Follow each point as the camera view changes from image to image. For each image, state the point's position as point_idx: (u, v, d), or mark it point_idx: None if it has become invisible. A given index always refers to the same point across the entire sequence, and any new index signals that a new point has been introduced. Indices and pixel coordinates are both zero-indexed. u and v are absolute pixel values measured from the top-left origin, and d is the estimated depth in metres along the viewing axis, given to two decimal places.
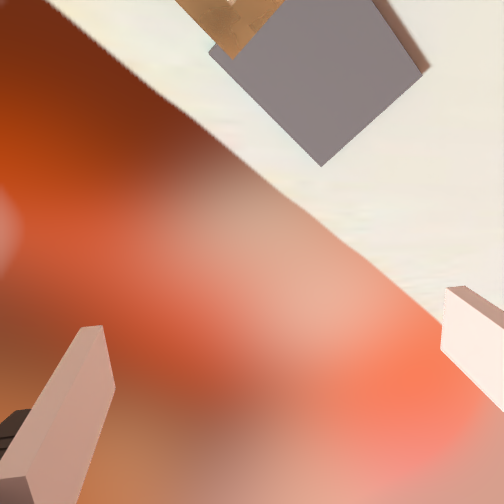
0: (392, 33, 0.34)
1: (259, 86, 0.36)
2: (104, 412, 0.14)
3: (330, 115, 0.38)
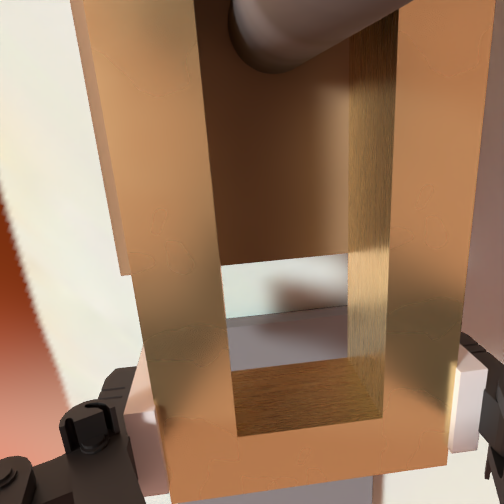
0: None
1: None
2: None
3: (243, 497, 0.25)
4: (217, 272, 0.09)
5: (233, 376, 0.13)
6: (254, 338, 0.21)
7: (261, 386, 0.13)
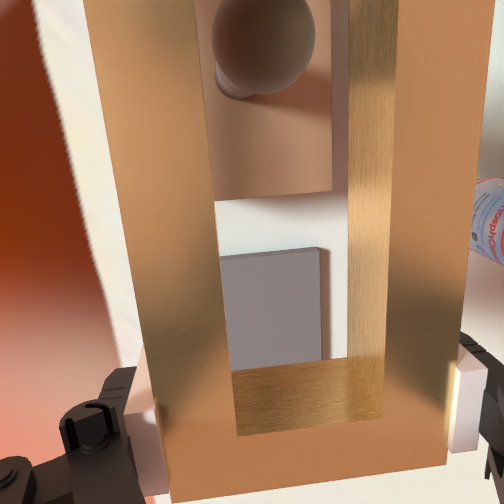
0: None
1: None
2: None
3: None
4: (216, 271, 0.09)
5: (233, 376, 0.13)
6: (236, 268, 0.32)
7: (261, 386, 0.13)
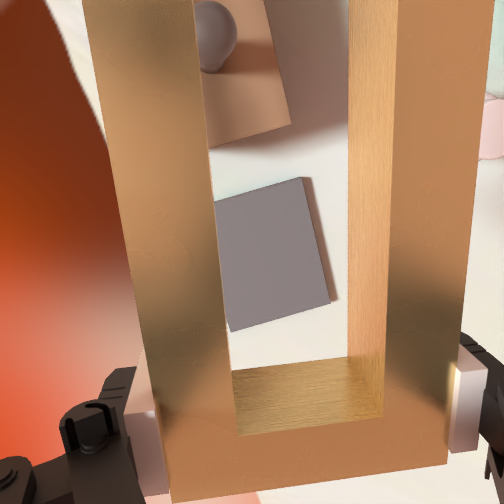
0: (320, 265, 0.46)
1: None
2: None
3: (255, 297, 0.46)
4: (216, 271, 0.09)
5: (233, 375, 0.13)
6: (241, 203, 0.42)
7: (261, 385, 0.13)
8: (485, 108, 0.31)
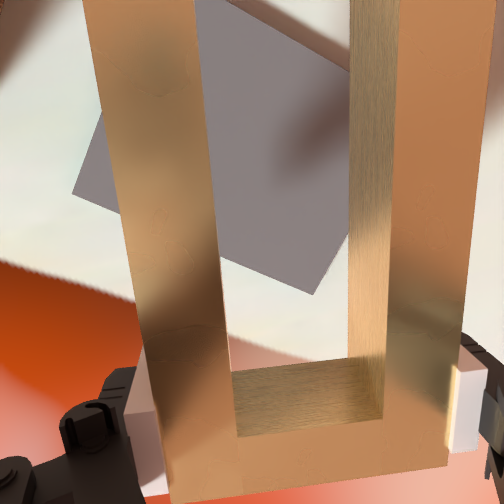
0: (339, 68, 0.21)
1: None
2: None
3: (294, 216, 0.24)
4: (217, 272, 0.09)
5: (233, 376, 0.13)
6: None
7: (261, 386, 0.13)
8: None
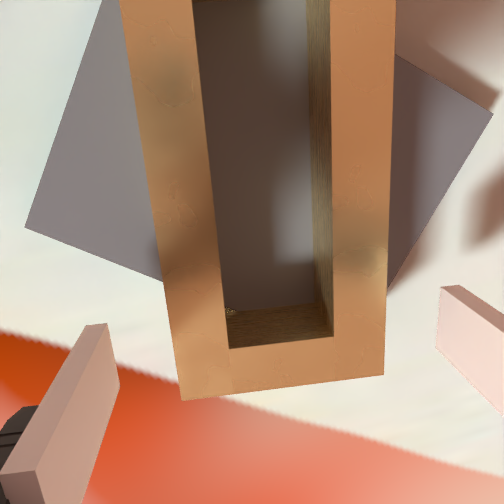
0: None
1: (153, 251, 0.17)
2: (109, 409, 0.14)
3: None
4: (212, 225, 0.14)
5: (227, 315, 0.18)
6: (90, 106, 0.15)
7: (247, 321, 0.17)
8: None
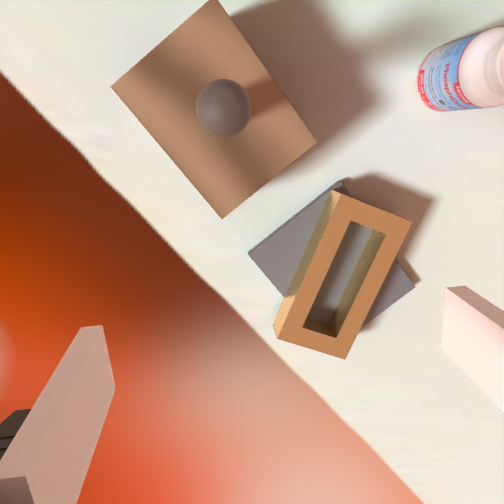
0: None
1: (284, 282, 0.44)
2: (104, 412, 0.14)
3: None
4: (319, 286, 0.41)
5: None
6: (293, 228, 0.42)
7: (305, 321, 0.44)
8: None
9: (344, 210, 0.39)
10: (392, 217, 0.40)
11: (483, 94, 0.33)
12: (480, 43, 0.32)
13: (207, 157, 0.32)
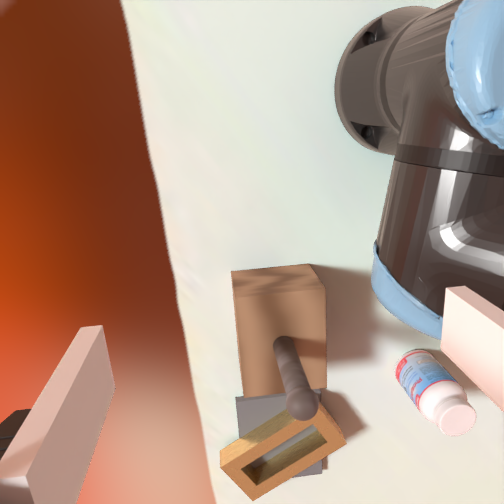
0: None
1: (246, 429, 0.58)
2: (104, 412, 0.14)
3: None
4: (268, 450, 0.56)
5: None
6: (274, 401, 0.57)
7: None
8: (453, 408, 0.48)
9: None
10: (337, 435, 0.56)
11: (428, 414, 0.51)
12: (442, 389, 0.50)
13: (260, 362, 0.47)
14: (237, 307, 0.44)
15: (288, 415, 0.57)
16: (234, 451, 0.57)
